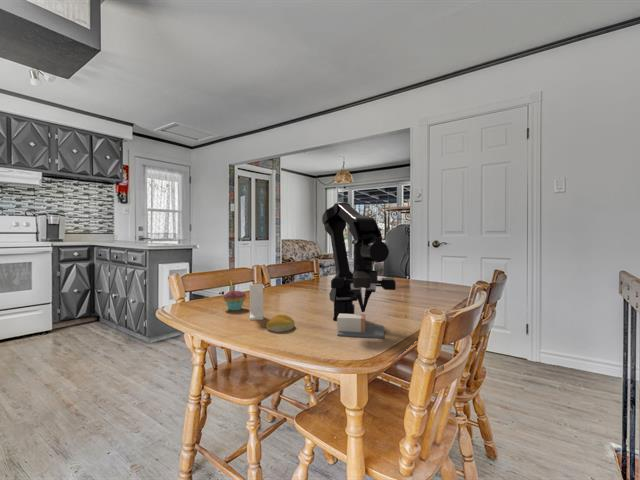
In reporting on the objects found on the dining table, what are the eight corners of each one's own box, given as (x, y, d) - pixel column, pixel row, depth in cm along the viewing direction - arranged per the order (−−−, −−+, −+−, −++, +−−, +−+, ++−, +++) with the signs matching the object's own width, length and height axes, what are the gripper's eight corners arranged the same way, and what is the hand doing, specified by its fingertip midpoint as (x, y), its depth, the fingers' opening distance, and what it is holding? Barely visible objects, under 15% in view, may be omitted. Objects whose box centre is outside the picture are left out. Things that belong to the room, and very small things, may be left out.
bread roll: (263, 332, 101) (263, 319, 100) (272, 324, 109) (272, 312, 109) (290, 333, 99) (289, 320, 99) (297, 325, 108) (297, 313, 108)
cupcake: (219, 311, 127) (219, 279, 127) (229, 306, 135) (229, 276, 135) (241, 311, 125) (241, 280, 125) (249, 307, 134) (249, 276, 134)
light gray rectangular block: (249, 320, 114) (249, 284, 114) (250, 315, 120) (249, 282, 119) (263, 319, 115) (263, 284, 114) (263, 315, 121) (263, 281, 120)
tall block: (364, 332, 98) (337, 330, 99) (365, 327, 103) (339, 326, 104) (364, 318, 98) (337, 317, 99) (365, 314, 103) (339, 313, 104)
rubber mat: (337, 335, 96) (337, 334, 96) (342, 325, 107) (342, 323, 107) (383, 338, 94) (383, 336, 94) (383, 327, 105) (383, 325, 105)
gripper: (327, 261, 94) (328, 317, 94) (396, 262, 90) (396, 320, 91) (333, 258, 105) (333, 308, 105) (395, 259, 101) (394, 310, 102)
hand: (363, 311), depth 100 cm, fingers closed
